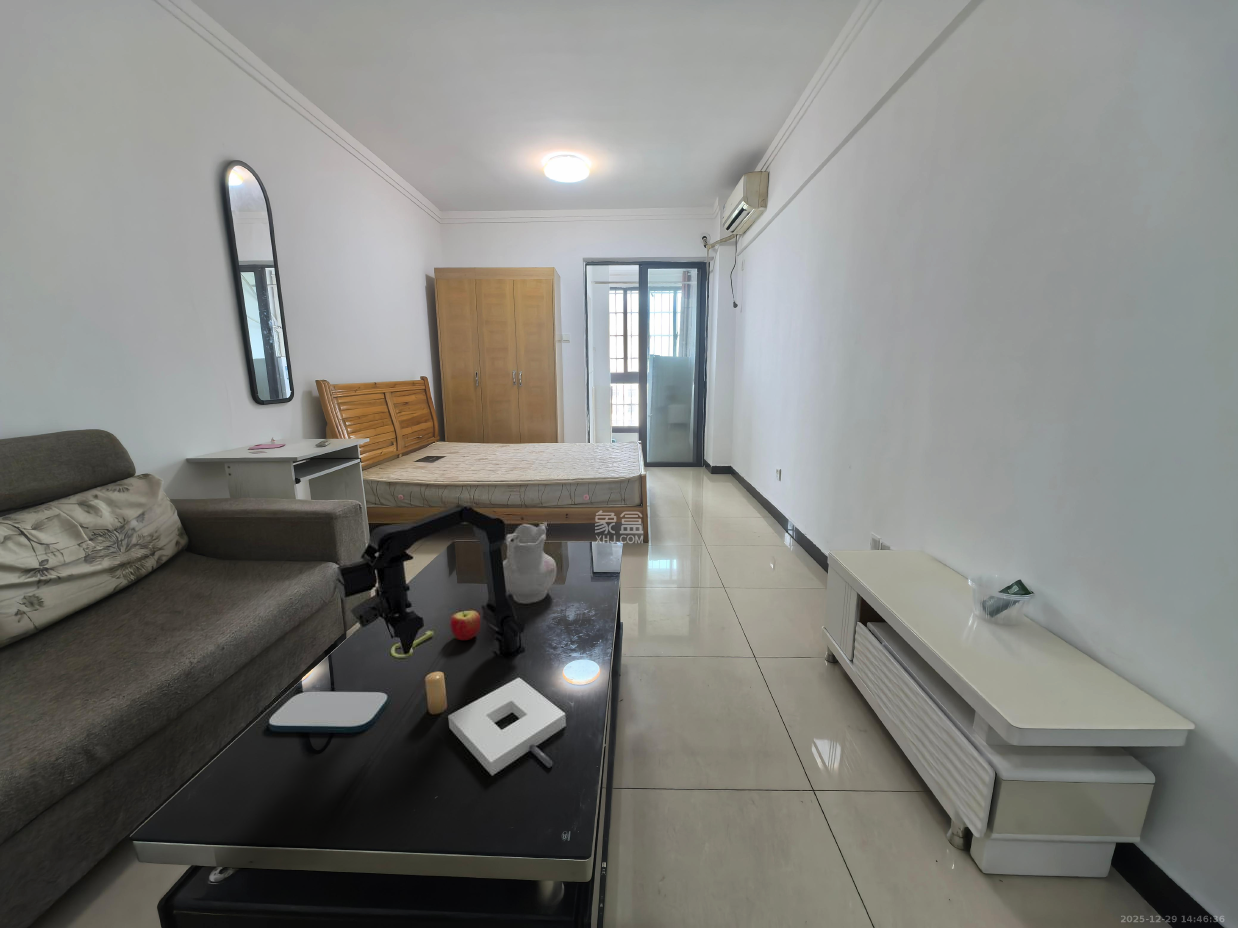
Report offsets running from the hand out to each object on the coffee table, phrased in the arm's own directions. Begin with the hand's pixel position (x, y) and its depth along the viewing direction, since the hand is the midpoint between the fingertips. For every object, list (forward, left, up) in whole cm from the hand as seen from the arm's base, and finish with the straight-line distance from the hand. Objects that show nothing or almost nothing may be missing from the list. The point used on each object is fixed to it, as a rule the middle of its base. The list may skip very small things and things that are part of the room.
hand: (399, 645), depth 109 cm
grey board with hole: (-12, +28, -14) cm, 34 cm away
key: (-10, -22, -15) cm, 29 cm away
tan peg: (-4, +8, -14) cm, 17 cm away
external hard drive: (+14, -8, -15) cm, 22 cm away
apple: (-23, -15, -15) cm, 31 cm away
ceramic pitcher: (-50, -23, -15) cm, 57 cm away
